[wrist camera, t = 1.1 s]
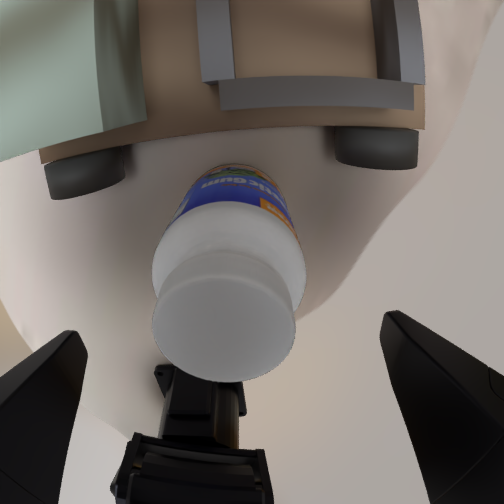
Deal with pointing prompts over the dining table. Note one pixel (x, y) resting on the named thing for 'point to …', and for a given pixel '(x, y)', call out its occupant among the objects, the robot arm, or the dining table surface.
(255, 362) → the pill bottle
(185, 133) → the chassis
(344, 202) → the dining table surface
